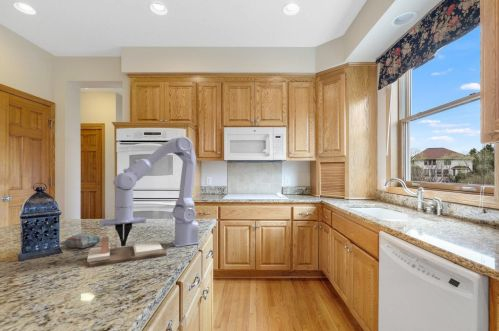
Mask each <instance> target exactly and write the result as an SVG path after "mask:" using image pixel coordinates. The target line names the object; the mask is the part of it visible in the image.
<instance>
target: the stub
mask: <svg viewBox="0 0 499 331" xmlns="http://www.w3.org/2000/svg"><path fill="white" fill-rule="evenodd" d="M101 239H102V240H101V241H100V242H101V243H100V247H92V248H90V249H89V252H88V255H87V260H86V262H87V263H89V262H93V261H100V260H107V259H109V257H110V249H111V246H110V245H109V236H106V237H101Z"/></svg>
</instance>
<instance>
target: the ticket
mask: <svg viewBox="0 0 499 331" xmlns="http://www.w3.org/2000/svg"><path fill="white" fill-rule="evenodd" d="M160 243H161V242H159V240H155V241H154V240H153V241H145V242H136V243H133V244H132V246H133V249H134V254H135V256H139V255H146V254H153V253H160V252H163V248H164V247H163V246H162V247H163V248H162V247H161V245H162V244H161V245H160Z"/></svg>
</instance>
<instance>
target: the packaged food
mask: <svg viewBox="0 0 499 331" xmlns="http://www.w3.org/2000/svg"><path fill="white" fill-rule="evenodd" d="M101 240H102V237H100V236H98V235H96V234H92V233H77V234H74V235H71V236H69V237H67V238H66V239H65V240H63V241H61V242H60V245H61V246H64V247H65V248H71V249H85V248H86V249H87V248H89V247H93V246H95V245H98V244H99V243H100V242H101ZM60 245H59V246H60Z"/></svg>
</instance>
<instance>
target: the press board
mask: <svg viewBox="0 0 499 331" xmlns="http://www.w3.org/2000/svg"><path fill="white" fill-rule="evenodd" d="M159 243H160V245H161V247H162V248H163V252H160V253H153V254H146V255H139V256H135V254H134V249H133V245H129V246H121V247H115V248H114V247H113V248H110V257H109V259H107V260H100V261H93V262H88V268H94V267H103V266H106V265H107V266H108V265H114V264H115V265H116V264H121V263H127V262H133V261H141V260H148V259H154V258H155V259H156V258H160V257H161V258H162V257H166V256H167V251H166V250H165V248H164V246H163V245H162V243H161V242H159Z"/></svg>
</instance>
